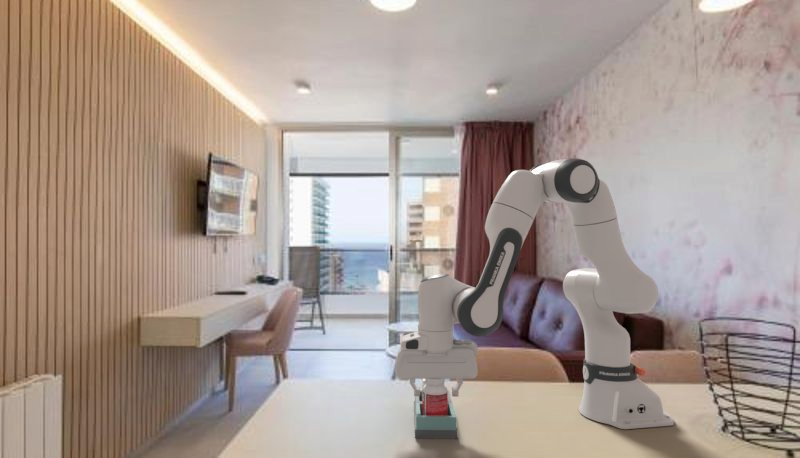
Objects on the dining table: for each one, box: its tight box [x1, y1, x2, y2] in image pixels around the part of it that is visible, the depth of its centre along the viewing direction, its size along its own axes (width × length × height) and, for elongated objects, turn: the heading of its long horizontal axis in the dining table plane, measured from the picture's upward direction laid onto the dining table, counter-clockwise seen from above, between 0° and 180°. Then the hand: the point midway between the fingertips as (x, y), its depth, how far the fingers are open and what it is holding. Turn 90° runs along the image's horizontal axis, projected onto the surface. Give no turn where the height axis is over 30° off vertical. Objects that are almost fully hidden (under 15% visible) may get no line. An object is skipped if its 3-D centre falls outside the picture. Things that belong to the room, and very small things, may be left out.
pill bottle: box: [422, 379, 448, 416], centre depth 109 cm, size 6×6×11 cm
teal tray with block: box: [413, 379, 458, 439], centre depth 114 cm, size 10×18×12 cm, turn 179°
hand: (436, 395), depth 110 cm, fingers open, 8 cm apart
